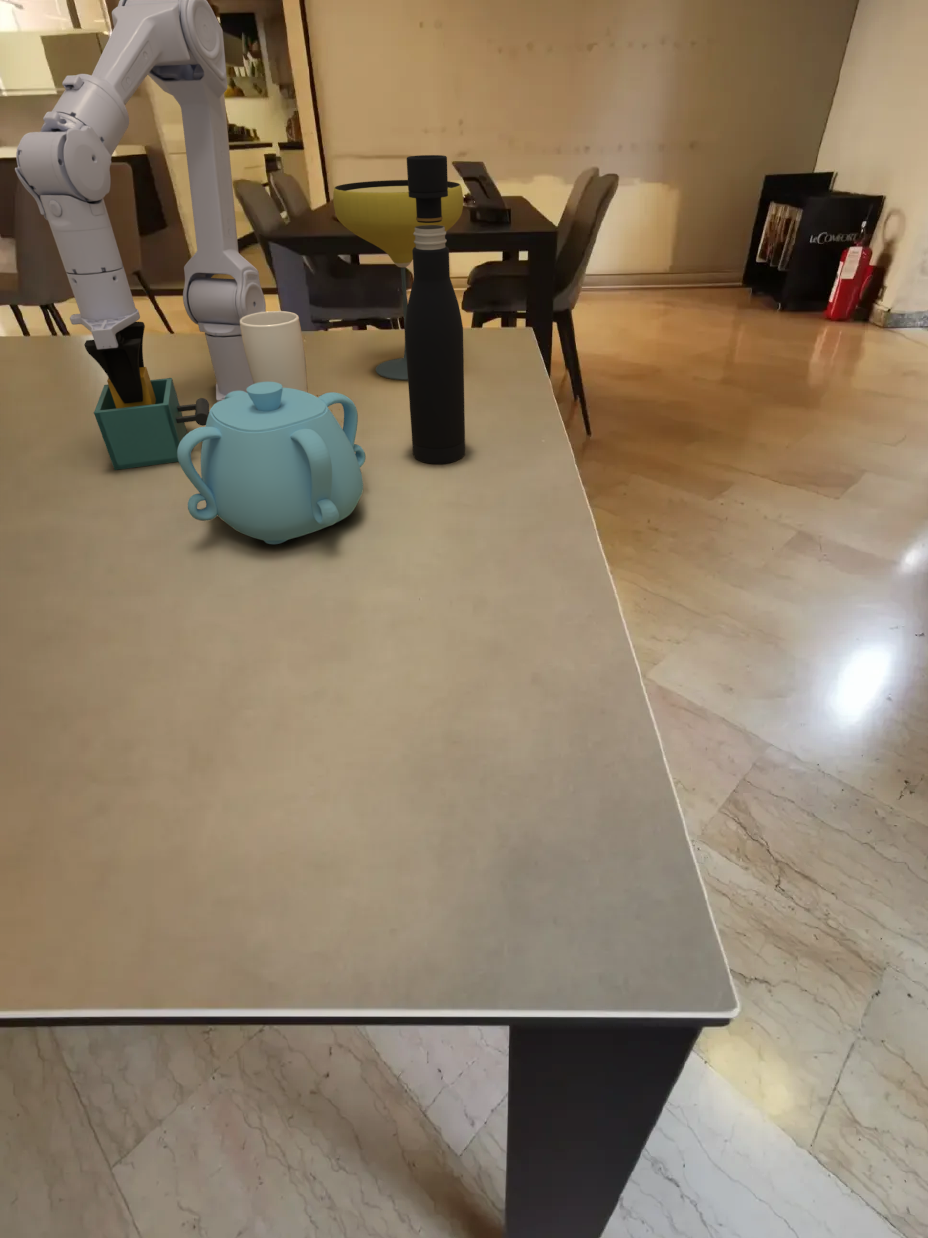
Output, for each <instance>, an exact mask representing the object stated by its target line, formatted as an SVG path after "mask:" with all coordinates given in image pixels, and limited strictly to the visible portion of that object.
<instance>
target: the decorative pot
mask: <svg viewBox="0 0 928 1238" xmlns="http://www.w3.org/2000/svg"><path fill="white" fill-rule="evenodd" d="M246 390H247V393H246V392H244V391H233V392H230V393H229V394H227V395H226V396H225V398H224V400H222V401H219V402H217V401H216V402H215V403H214V404H213V405H212V407H210V408H209V415H208V418H207V422H206V425H205V426H200V427H196V428H194V429H192V430H190V431H189V432H187V434H186V435H185V436H184V437H183V439H182V440H181V441H180V443H179V446H178V450H177V456H178V461H179V462H178V464H179V466H180V468H181V470H182V471H183V473H184V475H185V476H186V478H187V479H188V480H189V481H190V483H191V484H192V486H193V487H194V488H195V489H196V490H197V492H198V493H195V494H194V493H193V494H192V495H191V496H190V497H189V498H188V501H187V510H188V513H189V515H190V516H191V517H192V518H194V519H195V520H198V521H203V522H205V521H211V520H214V519H215V518H216V517H217V516H218V517H219V519H221V520H222V521H223V522H224V523H226V524H227V525H228V526H230V527H231V528H232V529H234V530H235V531H237V532H239V533H241V534H243V535H245V536H247V537H250V538H253V539H257V540H260V541H263V542H264V543H265V544H269V545H278V544H282V543H285V542H287V541H288V540H291V539H295V538H299V537H303V536H306V535H310V534H312V533H314V532H317V531H320V530H322V529H325V528H328V527H330V526H333V525H335V524H337V523H339V522H340V521H342V520H345V519H346V518H347V517H349V516H350V515H351V514H352V513H353V512H354V510H355V509H356V507H357V505H358V503H359V501H360V500H361V497H362V495H363V492H364V480H363V473H362V470H361V467H362V466H363V465H364V464H365V462H366V453H365V449H363V447H362V446H361V445H359V444H357V443H356V436H357V431H358V424H359V423H358V422H359V414H358V409H357V406H356V405H355V403H354V401H353V400H352V399H351V398H350V397H348V396H347V395H345V394H344V393H343V394H342V393H340V392H333V391H332V392H330V391H329V392H325V393H323V394H321V395H319V396H316V395H314V394H312V393H310V392H308V393H307V392H304V391H301V390H297V389H292V388H282V385H281V384H279V383H276V382H259V383H255V384H253V385H251V386H249V387H248V388H247V389H246ZM335 404H340V405H341V406H342V409H343V424H342V426H341V424H340V423H339V421H338V420H337V418H336V417H335V416H334V413H333V412H332V411H331V410H330V408H329V407H330V406H333V405H335ZM200 443H201V450H200V474H199V472H198V471H197V469H196V468H195V466H194V463H193V461H192V457H191V456H192V451H193V450H194V448H195V447H196V446H197V445H198V444H200ZM203 501H205V507H204V508H201V509H200V508H198V503H200V502H203Z"/></svg>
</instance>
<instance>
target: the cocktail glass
mask: <svg viewBox="0 0 928 1238" xmlns="http://www.w3.org/2000/svg"><path fill="white" fill-rule="evenodd" d="M408 192H409V191H408V179H389V180H388V179H387V180H385V179H384V180H372V181H371V180H370V181H369V180H368V181H359V182H351V183H343V184H339V185H336V186H334V188H333V192H332V196H333V197H332V198H333V199H332V201H333V209H334V212H335V216H336V218H337V220H338V221H339V223H340V224H342V226H344V227H345V228H346V230H348V231H349V232H351V233H352V234H354V235H356V236H357V237H359V238H360V239H363V240H365V242H368V243H370V244H372V245H374V246H376V247H377V248H379V249H380V250H382V251H384V252H385V254H387V255H388V257H389V258H390V259H391V261H392V262H393V263H394V265H395V266H396V267H397V268H400V275H401V276H400V277H401V292H402V307H403V327H404V328H403V329H404V330H405V322H406V313H407V305H408V297H407V282H406V281H407V280H406V279H407V278H406V268H407V267H409V266H410V264H411V263H413V253H412V250H413V248H414V247H416V244H415V243H414V240H415V235H414V234H413V233H414V232H415V227H417V226H422V225H441V226H444V227H445V231H446V232H448V231H449V230H450V229H452V227H453V226H454V225H455V224H456V223H457V222H458V221H459V220H460V218H461V216H462V213H463V209H464V193H463V188H462V185H461V183H459V182H455V181H451V180H448V196H447V197H442V198H441V209H442V217H443V219H442V221H441V222H436V223H420V222H417V220H416V217H417V212H416V198H410V197H409V193H408ZM375 373H376V374H377V375H378V376H380V377H382V378H384V379H388V380H393V381H394V380H395V381H408V372H407V357H406V343H405V342H404V353H403V357H399V358H394V359H389V360H386V361H383V362H380V363H379V364H378V365H377V366H376V367H375Z"/></svg>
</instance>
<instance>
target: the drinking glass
mask: <svg viewBox="0 0 928 1238" xmlns="http://www.w3.org/2000/svg"><path fill="white" fill-rule="evenodd" d="M300 321H301V320H300V317H299V315H298V314H297V313H295V312H291V311H285V310H270V311H269V310H268V311H266V312H259V313H254V314H250V315H247V316H244V317H243V318H241V319H240V328H241V334H242V340H243V345H244V350H245V354H246V358H247V362H248V366H249V369H250V372H251V376H252V379H253V383H254V384H255V383H259V382H276V383H279V384H281V385H282V388H292V389H297V390H301V391H304V392H307V393H309V388H308V373H307V362H306V361H307V360H306V350H305V342H304V337H303V336H304V335H303V332H302V327H301V322H300Z"/></svg>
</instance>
